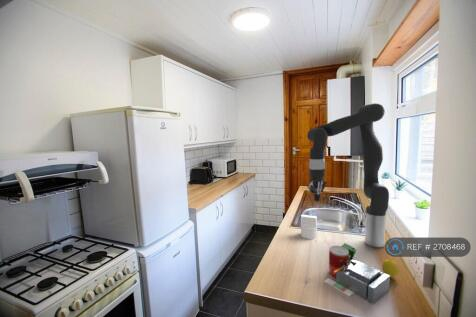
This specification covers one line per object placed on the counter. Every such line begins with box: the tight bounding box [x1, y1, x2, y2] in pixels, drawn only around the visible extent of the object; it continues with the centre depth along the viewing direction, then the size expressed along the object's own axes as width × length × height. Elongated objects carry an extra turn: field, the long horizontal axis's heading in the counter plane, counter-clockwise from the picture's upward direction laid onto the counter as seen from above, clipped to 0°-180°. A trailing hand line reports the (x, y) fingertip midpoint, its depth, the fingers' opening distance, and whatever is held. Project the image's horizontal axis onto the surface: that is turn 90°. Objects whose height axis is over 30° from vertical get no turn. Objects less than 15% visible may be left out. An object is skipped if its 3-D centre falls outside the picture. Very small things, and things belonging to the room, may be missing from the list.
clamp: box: [341, 242, 357, 261], centre depth 111 cm, size 12×6×9 cm, turn 126°
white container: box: [300, 214, 318, 240], centre depth 138 cm, size 9×9×12 cm
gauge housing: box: [335, 258, 391, 305], centre depth 92 cm, size 12×14×8 cm
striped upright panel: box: [323, 277, 355, 297], centre depth 92 cm, size 3×11×1 cm, turn 34°
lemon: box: [381, 258, 399, 278], centre depth 97 cm, size 6×6×8 cm
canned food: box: [328, 245, 350, 279], centre depth 100 cm, size 8×8×11 cm
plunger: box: [334, 262, 353, 273], centre depth 92 cm, size 14×8×7 cm, turn 124°
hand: (317, 200), depth 118 cm, fingers closed
